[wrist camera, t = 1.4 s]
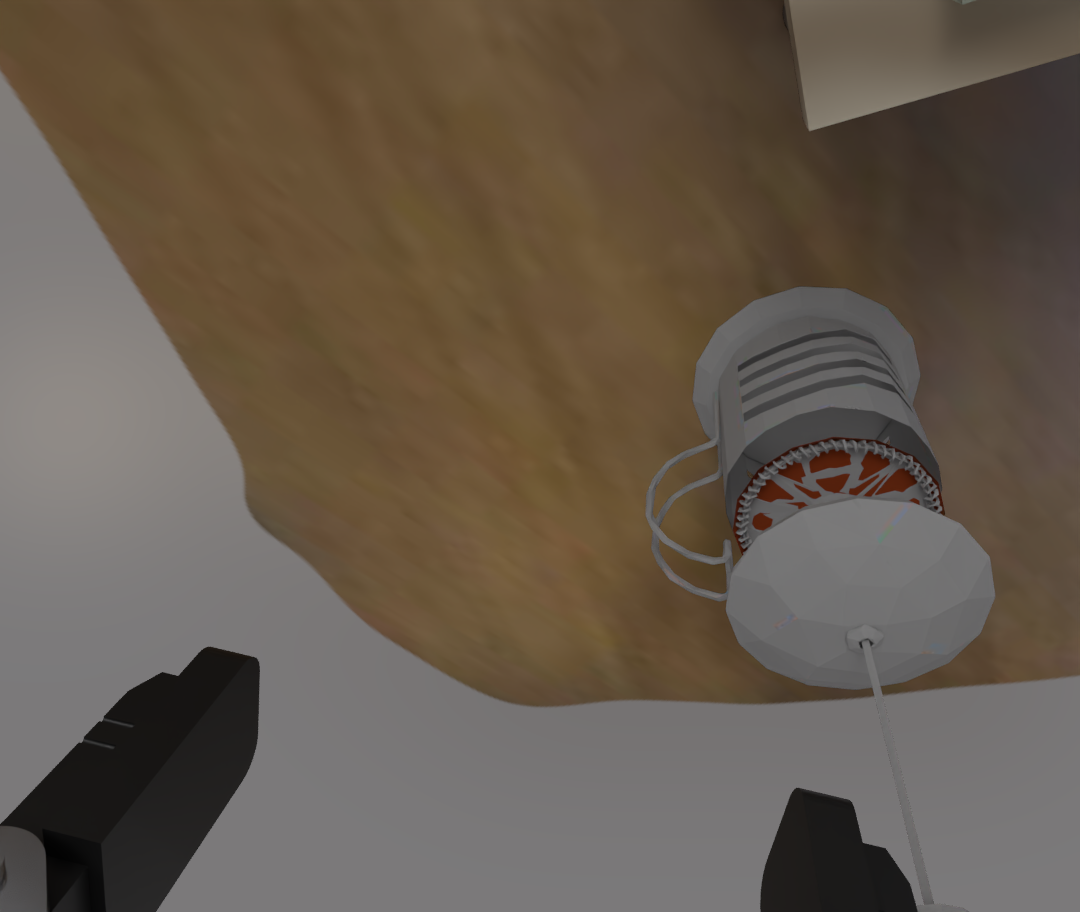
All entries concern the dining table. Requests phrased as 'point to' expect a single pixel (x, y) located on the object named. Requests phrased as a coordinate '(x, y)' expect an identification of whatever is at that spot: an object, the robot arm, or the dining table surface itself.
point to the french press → (832, 504)
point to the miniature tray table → (916, 48)
